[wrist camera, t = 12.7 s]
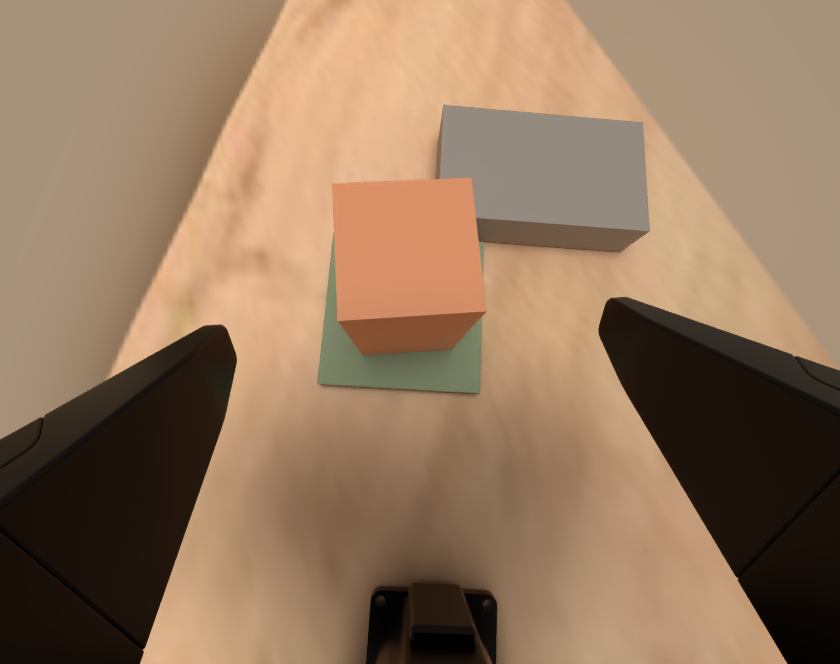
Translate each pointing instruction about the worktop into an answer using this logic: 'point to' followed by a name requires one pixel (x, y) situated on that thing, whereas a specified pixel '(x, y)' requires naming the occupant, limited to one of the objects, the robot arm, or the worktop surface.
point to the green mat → (397, 358)
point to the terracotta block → (407, 264)
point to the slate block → (548, 176)
